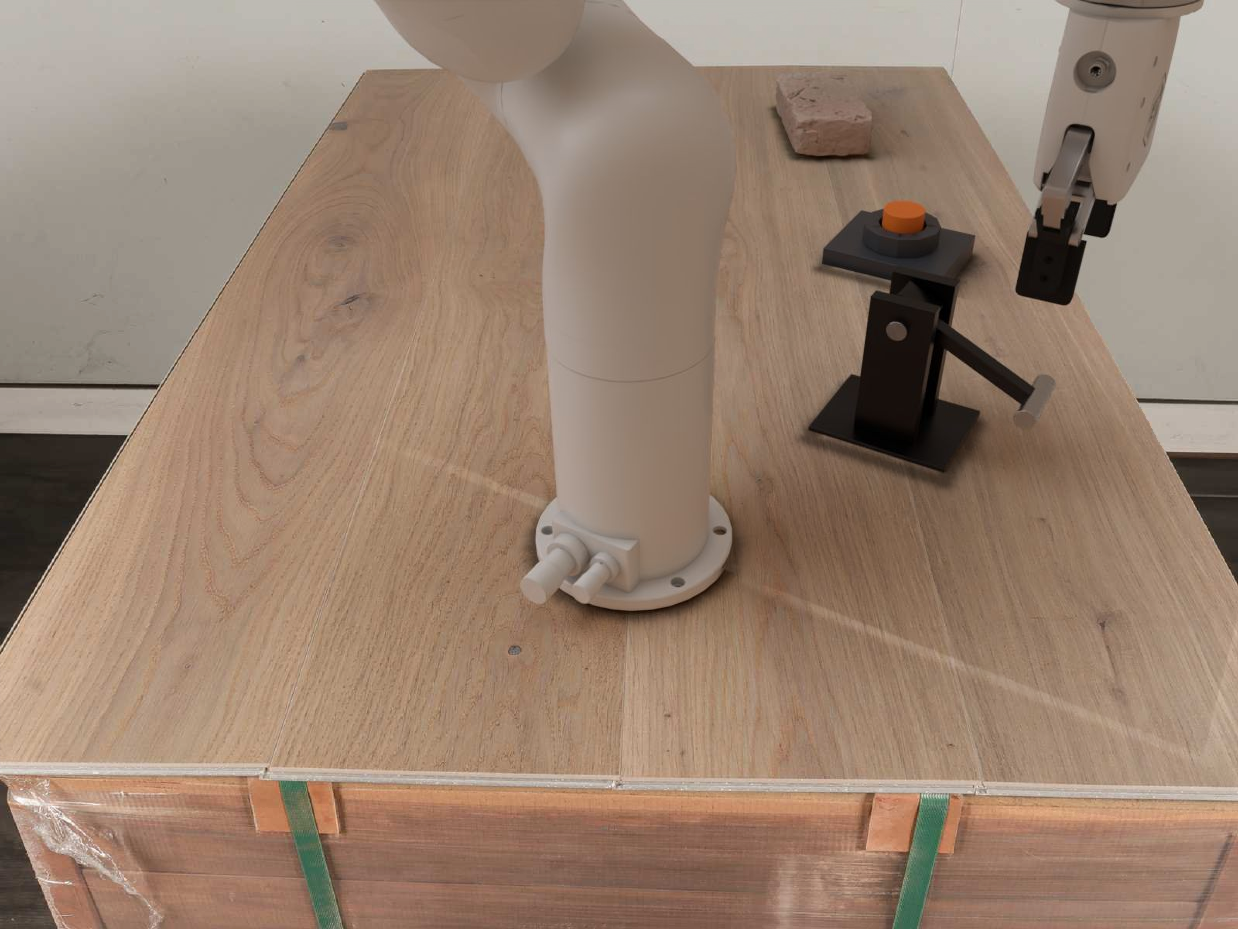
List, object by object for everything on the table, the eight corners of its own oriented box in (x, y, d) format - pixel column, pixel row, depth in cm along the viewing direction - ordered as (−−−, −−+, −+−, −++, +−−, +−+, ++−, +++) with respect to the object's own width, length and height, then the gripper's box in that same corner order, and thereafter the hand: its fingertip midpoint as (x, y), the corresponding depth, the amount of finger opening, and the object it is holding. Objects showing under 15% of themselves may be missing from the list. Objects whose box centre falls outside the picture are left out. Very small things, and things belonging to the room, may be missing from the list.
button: (928, 223, 100) (931, 205, 99) (914, 239, 98) (917, 221, 96) (890, 215, 101) (892, 197, 100) (875, 230, 99) (877, 212, 98)
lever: (1043, 400, 76) (1065, 378, 74) (1022, 438, 73) (1045, 415, 71) (898, 295, 78) (917, 271, 76) (872, 328, 74) (891, 302, 73)
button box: (971, 256, 102) (979, 216, 100) (939, 299, 96) (946, 257, 94) (858, 231, 107) (863, 191, 105) (821, 269, 101) (825, 229, 99)
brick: (772, 107, 134) (775, 67, 131) (842, 104, 134) (846, 65, 131) (794, 162, 121) (797, 120, 118) (871, 160, 121) (876, 117, 118)
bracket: (977, 424, 82) (1008, 280, 74) (941, 483, 76) (971, 334, 69) (849, 386, 86) (867, 247, 79) (806, 439, 81) (821, 295, 73)
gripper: (1179, 24, 51) (1093, 344, 62) (1235, -61, 63) (1154, 221, 73) (1014, 4, 54) (959, 312, 65) (1096, -73, 66) (1038, 199, 76)
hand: (1063, 263), depth 69 cm, fingers open, 9 cm apart
